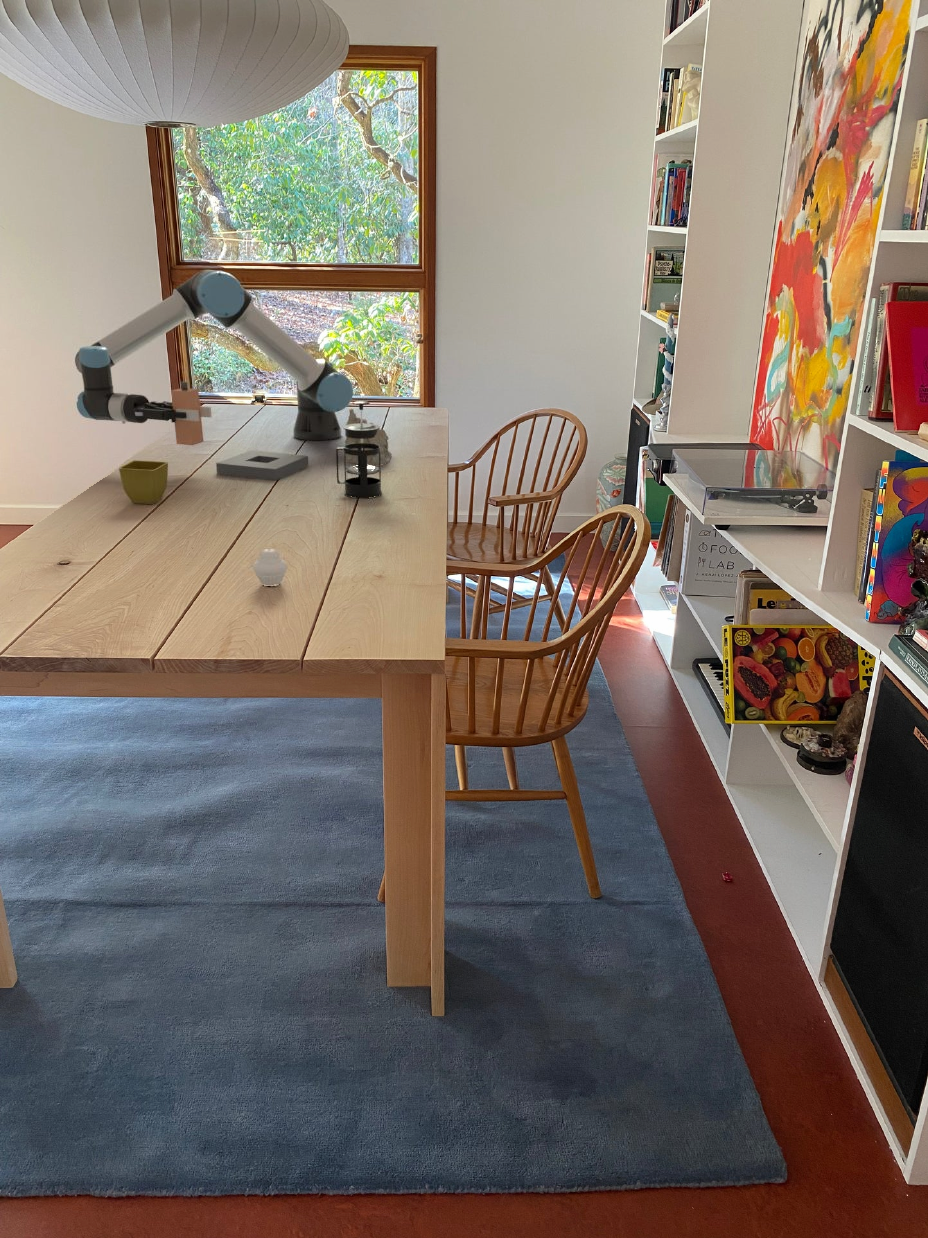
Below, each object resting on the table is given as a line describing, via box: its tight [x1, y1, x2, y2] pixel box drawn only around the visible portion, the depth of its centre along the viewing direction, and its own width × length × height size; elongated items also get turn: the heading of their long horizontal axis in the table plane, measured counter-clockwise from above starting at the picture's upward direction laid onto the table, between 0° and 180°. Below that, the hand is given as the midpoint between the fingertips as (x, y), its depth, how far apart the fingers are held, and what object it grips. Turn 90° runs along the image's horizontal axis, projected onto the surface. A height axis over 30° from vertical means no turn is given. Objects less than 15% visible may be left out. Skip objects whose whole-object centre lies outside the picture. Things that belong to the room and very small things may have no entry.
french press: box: [335, 400, 383, 499], centre depth 233 cm, size 12×9×23 cm
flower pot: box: [118, 460, 169, 505], centre depth 225 cm, size 9×9×9 cm
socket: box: [215, 449, 309, 481], centre depth 258 cm, size 18×18×3 cm
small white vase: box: [252, 548, 288, 585], centre depth 173 cm, size 6×6×7 cm
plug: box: [170, 381, 204, 446], centre depth 250 cm, size 5×5×16 cm
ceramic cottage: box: [344, 408, 393, 467], centre depth 272 cm, size 16×16×15 cm
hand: (204, 413), depth 249 cm, fingers closed on plug, 5 cm apart
